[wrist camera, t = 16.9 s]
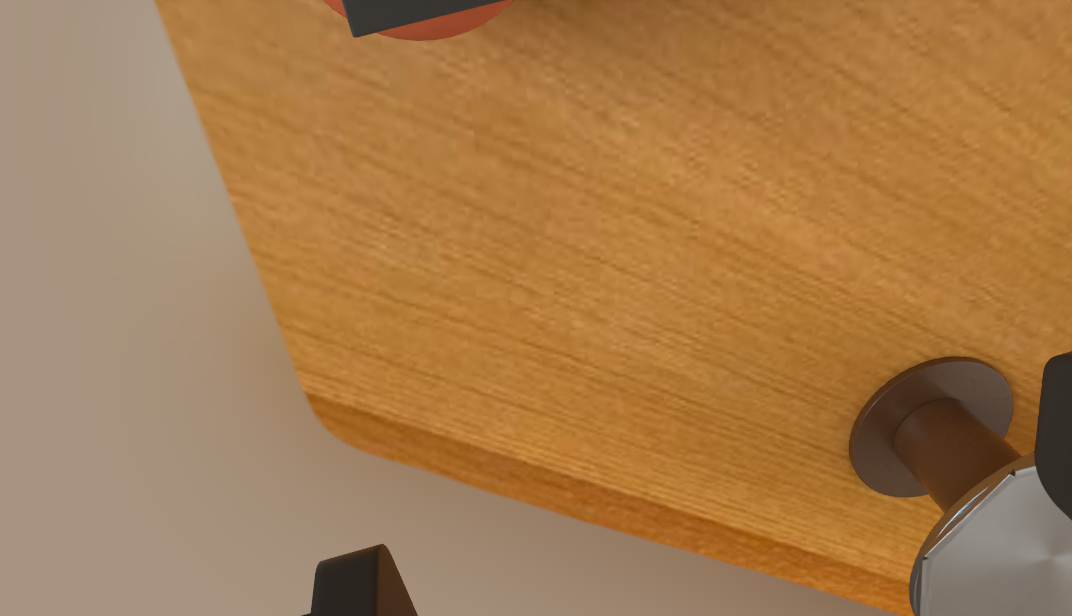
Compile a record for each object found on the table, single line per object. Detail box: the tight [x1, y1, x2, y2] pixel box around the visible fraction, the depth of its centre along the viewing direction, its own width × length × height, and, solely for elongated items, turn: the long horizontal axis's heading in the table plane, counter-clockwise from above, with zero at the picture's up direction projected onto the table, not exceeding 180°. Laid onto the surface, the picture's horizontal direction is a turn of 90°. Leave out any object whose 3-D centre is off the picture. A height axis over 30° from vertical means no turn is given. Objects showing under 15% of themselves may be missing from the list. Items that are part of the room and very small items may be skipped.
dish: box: [849, 357, 1072, 616], centre depth 44 cm, size 14×14×11 cm
